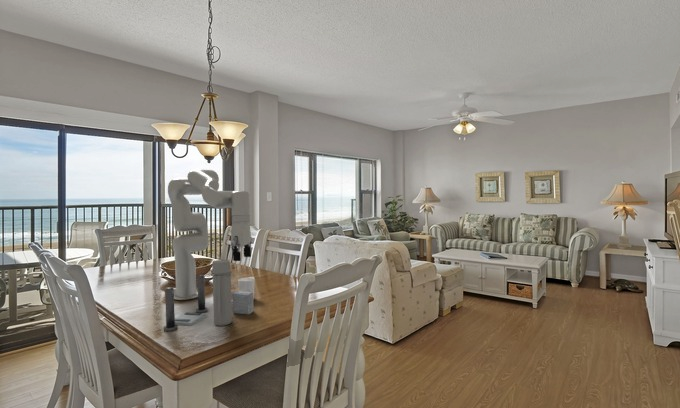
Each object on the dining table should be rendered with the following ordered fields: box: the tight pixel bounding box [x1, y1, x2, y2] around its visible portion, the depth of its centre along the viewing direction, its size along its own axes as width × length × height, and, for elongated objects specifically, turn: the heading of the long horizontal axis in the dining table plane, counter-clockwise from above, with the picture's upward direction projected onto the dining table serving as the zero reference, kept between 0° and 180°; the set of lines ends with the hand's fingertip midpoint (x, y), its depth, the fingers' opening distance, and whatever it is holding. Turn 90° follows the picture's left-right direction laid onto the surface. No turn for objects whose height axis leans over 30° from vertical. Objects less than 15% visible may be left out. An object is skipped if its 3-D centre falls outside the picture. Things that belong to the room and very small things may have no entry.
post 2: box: [195, 274, 209, 313], centre depth 158 cm, size 5×5×16 cm
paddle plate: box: [175, 311, 208, 326], centre depth 148 cm, size 11×11×1 cm
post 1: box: [163, 286, 179, 333], centre depth 138 cm, size 5×5×16 cm
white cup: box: [237, 276, 256, 300], centre depth 175 cm, size 8×8×10 cm
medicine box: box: [231, 290, 254, 315], centre depth 156 cm, size 8×4×9 cm, turn 71°
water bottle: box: [210, 259, 233, 327], centre depth 142 cm, size 9×8×25 cm
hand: (242, 258), depth 155 cm, fingers open, 9 cm apart
